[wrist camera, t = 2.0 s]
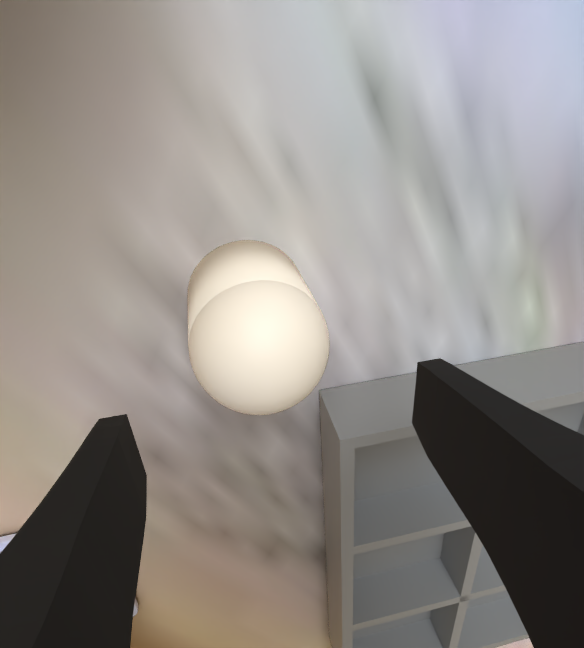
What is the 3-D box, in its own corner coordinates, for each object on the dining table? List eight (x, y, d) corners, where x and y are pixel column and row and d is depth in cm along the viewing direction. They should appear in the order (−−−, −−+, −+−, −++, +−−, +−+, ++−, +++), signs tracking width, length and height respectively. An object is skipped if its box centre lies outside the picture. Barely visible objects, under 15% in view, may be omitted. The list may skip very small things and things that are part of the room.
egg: (198, 352, 18) (203, 458, 13) (177, 248, 16) (174, 330, 11) (304, 334, 19) (348, 430, 14) (299, 232, 17) (347, 303, 12)
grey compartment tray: (329, 636, 31) (342, 690, 29) (318, 390, 20) (340, 440, 18) (520, 585, 33) (550, 631, 31) (603, 338, 22) (661, 375, 20)
